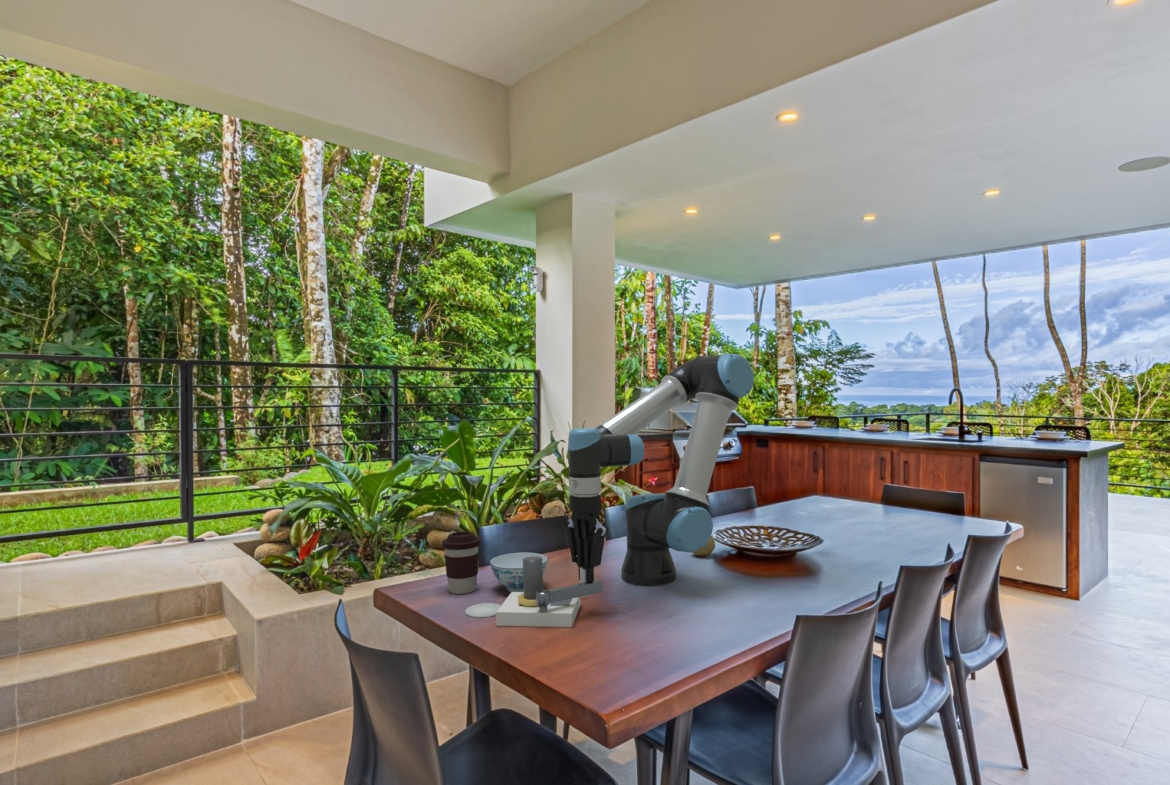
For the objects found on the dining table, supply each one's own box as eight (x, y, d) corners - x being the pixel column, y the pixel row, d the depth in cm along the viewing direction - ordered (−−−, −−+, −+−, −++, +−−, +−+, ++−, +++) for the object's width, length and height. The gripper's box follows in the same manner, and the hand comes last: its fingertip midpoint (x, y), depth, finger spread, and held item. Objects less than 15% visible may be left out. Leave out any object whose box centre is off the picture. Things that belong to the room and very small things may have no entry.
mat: (507, 604, 147) (507, 603, 147) (497, 618, 138) (497, 616, 138) (472, 604, 148) (472, 602, 148) (460, 617, 139) (459, 615, 139)
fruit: (688, 553, 191) (687, 528, 191) (714, 553, 190) (713, 528, 190) (688, 559, 184) (688, 533, 184) (716, 559, 182) (715, 533, 182)
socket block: (580, 605, 145) (580, 587, 145) (571, 627, 131) (571, 607, 131) (512, 604, 147) (511, 586, 147) (496, 625, 133) (496, 605, 133)
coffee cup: (473, 597, 153) (471, 538, 154) (437, 595, 155) (435, 537, 156) (487, 585, 163) (485, 530, 163) (453, 584, 165) (451, 529, 165)
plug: (552, 609, 143) (550, 555, 143) (546, 621, 135) (544, 563, 136) (522, 609, 143) (521, 554, 144) (515, 620, 136) (513, 563, 136)
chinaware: (480, 595, 155) (479, 565, 155) (507, 578, 169) (506, 551, 169) (533, 600, 150) (532, 569, 150) (556, 582, 164) (555, 554, 164)
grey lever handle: (539, 606, 131) (539, 595, 131) (533, 602, 134) (533, 591, 134) (604, 592, 139) (604, 582, 139) (597, 589, 142) (597, 578, 142)
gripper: (554, 493, 143) (556, 592, 143) (592, 499, 133) (594, 605, 133) (578, 489, 148) (579, 585, 148) (615, 495, 139) (617, 597, 138)
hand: (586, 594), depth 141 cm, fingers closed
